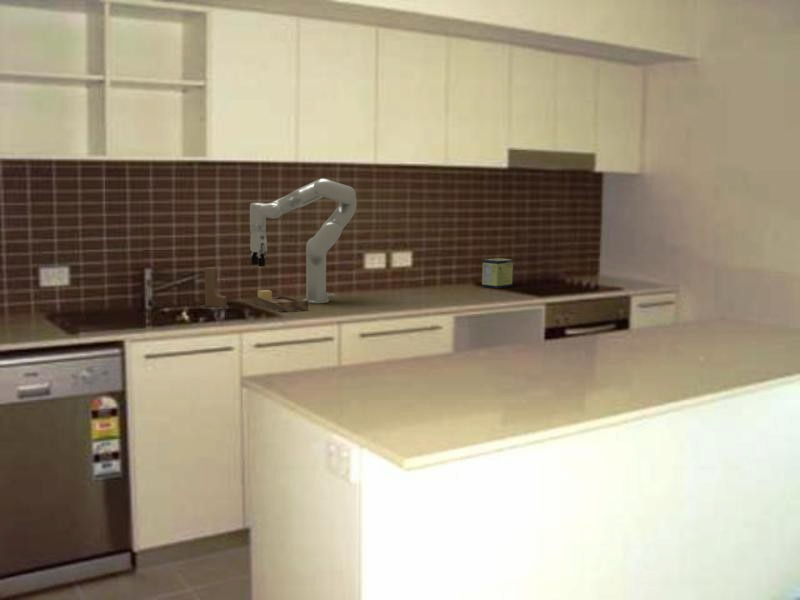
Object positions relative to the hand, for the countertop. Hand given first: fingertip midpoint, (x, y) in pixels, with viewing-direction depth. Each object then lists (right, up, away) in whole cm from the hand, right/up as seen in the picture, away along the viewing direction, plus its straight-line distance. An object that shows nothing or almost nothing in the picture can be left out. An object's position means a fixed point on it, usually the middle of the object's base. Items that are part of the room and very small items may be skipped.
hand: (258, 265), depth 423 cm
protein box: (+123, -9, +76) cm, 145 cm away
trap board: (+12, -20, -11) cm, 26 cm away
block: (+4, -16, -4) cm, 17 cm away
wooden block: (-17, -20, -13) cm, 29 cm away
